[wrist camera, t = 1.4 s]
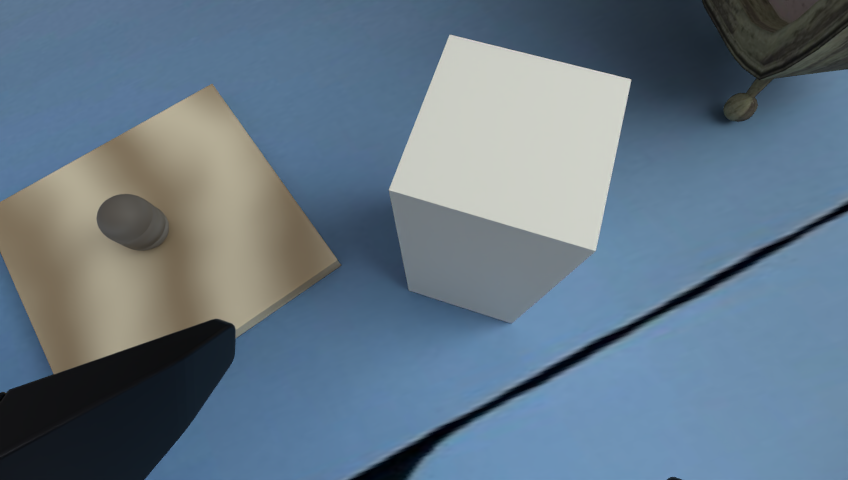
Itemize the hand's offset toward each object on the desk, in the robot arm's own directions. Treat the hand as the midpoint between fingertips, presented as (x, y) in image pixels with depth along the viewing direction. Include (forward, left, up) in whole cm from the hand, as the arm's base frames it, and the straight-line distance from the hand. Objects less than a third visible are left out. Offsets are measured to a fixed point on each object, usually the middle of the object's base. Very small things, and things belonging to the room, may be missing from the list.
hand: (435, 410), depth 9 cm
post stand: (-7, +15, -13) cm, 21 cm away
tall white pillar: (+6, +4, -13) cm, 15 cm away
